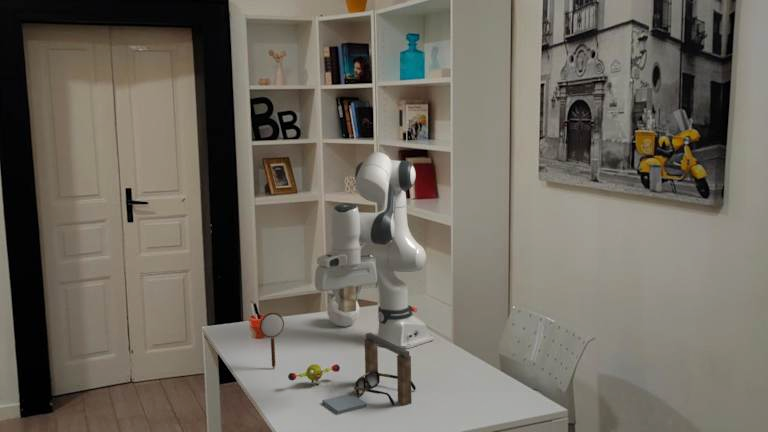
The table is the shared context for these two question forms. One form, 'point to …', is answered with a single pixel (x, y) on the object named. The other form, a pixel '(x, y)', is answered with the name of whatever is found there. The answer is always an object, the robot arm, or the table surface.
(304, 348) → the table surface
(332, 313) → the geodesic sphere
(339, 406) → the pad
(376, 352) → the rod stand
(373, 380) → the sunglasses
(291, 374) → the toy figure
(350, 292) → the block
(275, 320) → the magnifying glass
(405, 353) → the rod
